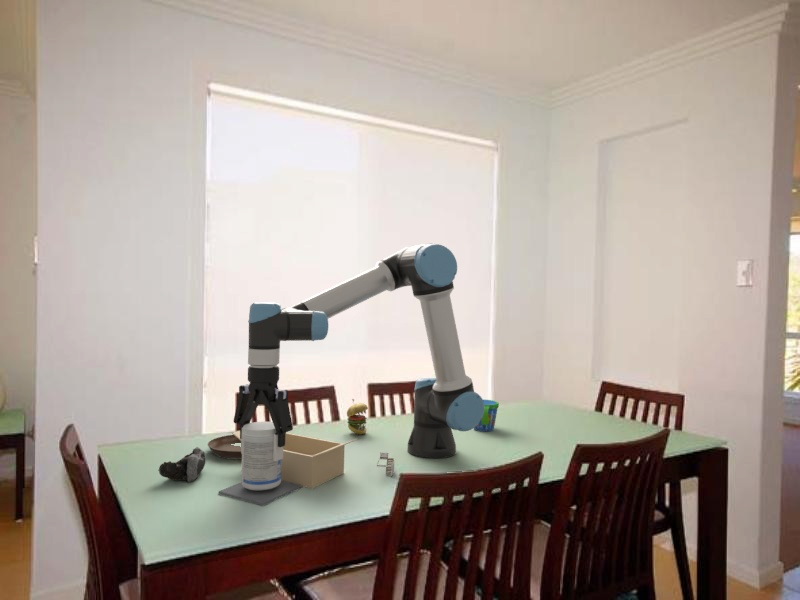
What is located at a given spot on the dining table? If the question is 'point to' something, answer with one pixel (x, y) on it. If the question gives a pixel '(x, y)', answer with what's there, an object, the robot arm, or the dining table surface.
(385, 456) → the staircase
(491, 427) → the snack cup
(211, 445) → the plant saucer
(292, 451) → the carton
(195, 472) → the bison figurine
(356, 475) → the dining table surface
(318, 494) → the dining table surface
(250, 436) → the supplement tub
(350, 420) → the hamburger
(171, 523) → the dining table surface
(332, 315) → the robot arm
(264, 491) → the mat
